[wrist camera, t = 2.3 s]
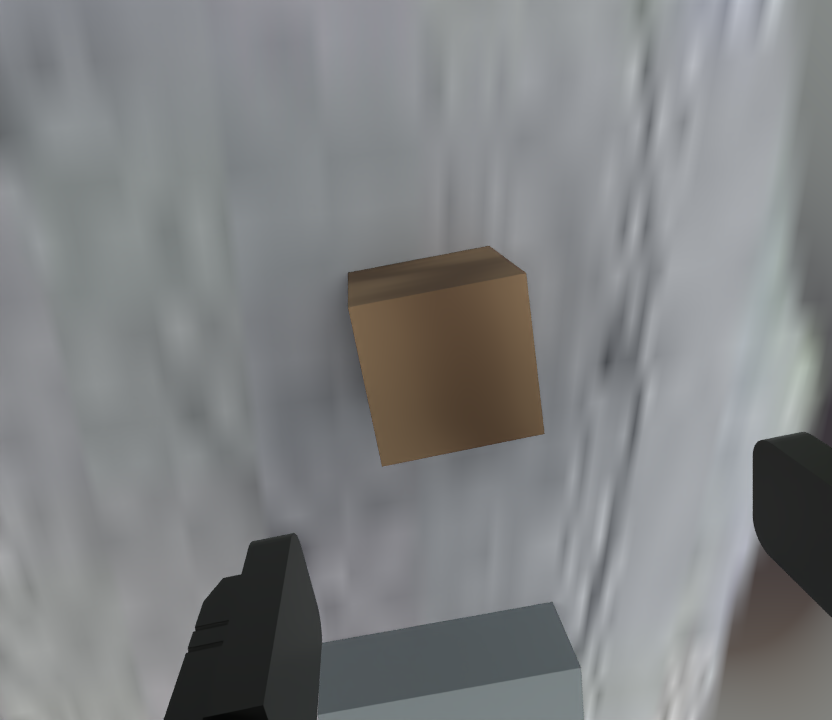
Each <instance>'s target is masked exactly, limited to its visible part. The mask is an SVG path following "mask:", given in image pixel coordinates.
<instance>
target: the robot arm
mask: <svg viewBox="0 0 832 720" xmlns="http://www.w3.org/2000/svg"><path fill="white" fill-rule="evenodd" d="M753 523H754V528H755V531H756V534H757V537H758V539H759V541H760V543H761V545H762V547H763V548H764V550H765V551H766V553H767V554H768V555H769V556H770V557H771V558H772V559H773V560H774V561H775V562H776V563H777V564H778V565H779V566H780V567H781V568H782V569H783V570H784V571H785V572H786V573H787V574H788V575H789V576H790V577H791V578H792V579H793V580H794V581H795V582H796V583H798V585H799V586H800V587H801V588H802V589H803V590H804V591H805V592H806V593H808V595H809V596H810V597H812V599H814V600H815V601H816V602H817V603H818V604H819V605H820V606H821V607H822V608H823V609H824V610H825V611H826V612H827V613H828V614H829V615H830V616H831V617H832V448H831V447H830V446H828V445H827V444H825V443H824V442H822V441H820V440H819V439H817V438H816V437H814V436H812V435H811V434H809V433H806V432H799V433H795V434H790V435H785V436H780V437H775V438H770V439H765V440H760V441H758V442H757V443H756V445H755V447H754V450H753ZM321 650H322V632H321V622H320V616H319V611H318V606H317V602H316V599H315V595H314V591H313V588H312V584H311V581H310V577H309V573H308V570H307V566H306V562H305V559H304V555H303V552H302V548H301V544H300V541H299V539H298V537H297V535H296V534H295V533H292V534H287V535H282V536H277V537H272V538H267V539H262V540H257V541H252V542H251V543H250V545H249V548H248V552H247V555H246V559H245V563H244V567H243V570H242V574H241V575H236V576H231V577H226V578H223V579H222V580H221V581H220V582H219V584H218V585H217V586H216V587H215V588H214V590H213V591H212V592H211V593H210V595H209V596H208V597H207V598H206V599H205V601H204V602H203V605H202V608H201V611H200V613H199V616H198V619H197V622H196V625H195V632H193V634H192V637H191V640H190V643H189V646H188V653H186V655H185V658H184V661H183V664H182V667H181V670H180V673H179V676H178V679H177V682H176V685H175V688H174V691H173V693H172V696H171V699H170V702H169V705H168V708H167V711H166V714H165V717H164V720H317V707H318V693H319V679H320V665H321Z"/></svg>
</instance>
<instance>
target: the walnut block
mask: <svg viewBox="0 0 832 720" xmlns="http://www.w3.org/2000/svg"><path fill="white" fill-rule="evenodd" d="M348 310H349V314H350V319H351V324H352V328H353V333H354V338H355V342H356V347H357V352H358V356H359V361H360V366H361V370H362V375H363V380H364V384H365V389H366V394H367V398H368V403H369V408H370V412H371V417H372V422H373V426H374V431H375V436H376V440H377V445H378V450H379V454H380V459H381V464H382V467H383V466H388V465H393V464H398V463H402V462H407V461H412V460H417V459H422V458H427V457H432V456H437V455H442V454H447V453H452V452H457V451H462V450H467V449H472V448H477V447H482V446H487V445H492V444H496V443H501V442H506V441H511V440H516V439H521V438H526V437H531V436H536V435H541V434H544V426H543V417H542V408H541V399H540V391H539V382H538V373H537V364H536V356H535V347H534V338H533V329H532V321H531V312H530V303H529V295H528V286H527V277H526V273H525V272H524V271H522V270H521V269H520V268H518V267H517V266H516V265H514V264H513V263H512V262H510V261H509V260H508V259H506V258H505V257H504V256H502V255H501V254H500V253H498V252H497V251H495V250H494V249H493V248H491V247H490V246H486V247H480V248H475V249H470V250H465V251H459V252H454V253H449V254H444V255H438V256H433V257H428V258H423V259H417V260H412V261H407V262H402V263H396V264H391V265H386V266H381V267H375V268H370V269H365V270H360V271H354V272H349V273H348Z"/></svg>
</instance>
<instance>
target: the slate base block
mask: <svg viewBox="0 0 832 720" xmlns="http://www.w3.org/2000/svg"><path fill="white" fill-rule="evenodd" d="M318 718H319V720H584V712H583V694H582V676H581V667H580V664H579V662H578V660H577V657H576V655H575V653H574V651H573V648H572V646H571V644H570V641H569V639H568V637H567V634H566V632H565V630H564V628H563V625H562V623H561V621H560V618H559V616H558V614H557V612H556V609H555V607H554V605H553V602H550V603H544V604H538V605H533V606H527V607H522V608H516V609H510V610H505V611H499V612H494V613H488V614H482V615H477V616H471V617H466V618H460V619H454V620H449V621H443V622H437V623H432V624H426V625H421V626H415V627H409V628H404V629H398V630H393V631H387V632H381V633H376V634H370V635H365V636H359V637H353V638H348V639H342V640H337V641H331V642H325V643H322V652H321V668H320V685H319V701H318Z"/></svg>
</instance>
